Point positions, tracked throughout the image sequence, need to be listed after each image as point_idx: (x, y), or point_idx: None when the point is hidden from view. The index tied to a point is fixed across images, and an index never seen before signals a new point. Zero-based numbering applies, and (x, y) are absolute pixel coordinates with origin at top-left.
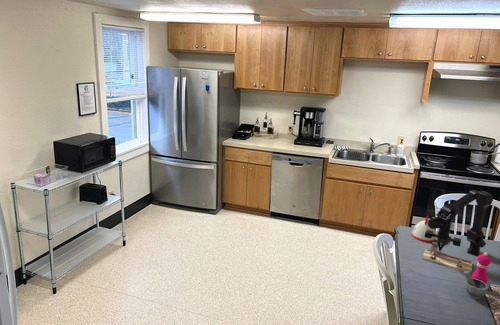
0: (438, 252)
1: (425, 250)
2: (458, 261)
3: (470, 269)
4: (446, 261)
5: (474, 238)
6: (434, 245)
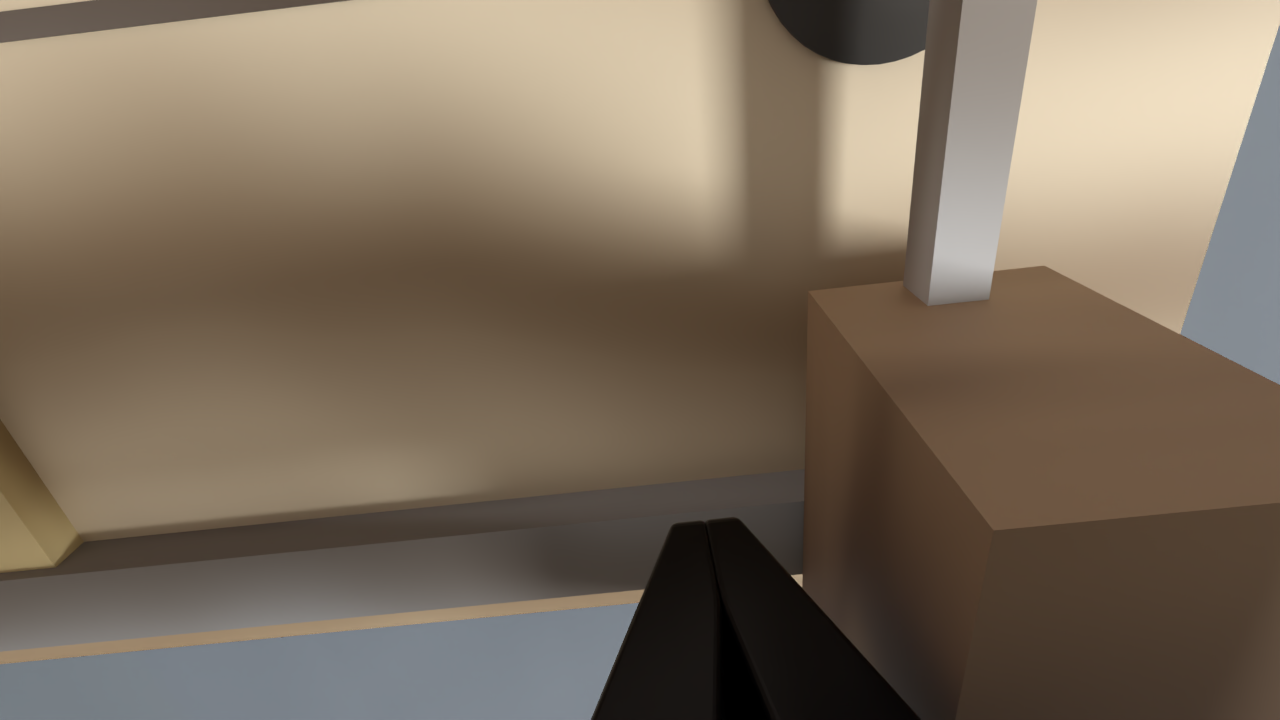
0: None
1: None
2: (39, 443)
3: None
4: (293, 105)
5: None
6: (1169, 699)
